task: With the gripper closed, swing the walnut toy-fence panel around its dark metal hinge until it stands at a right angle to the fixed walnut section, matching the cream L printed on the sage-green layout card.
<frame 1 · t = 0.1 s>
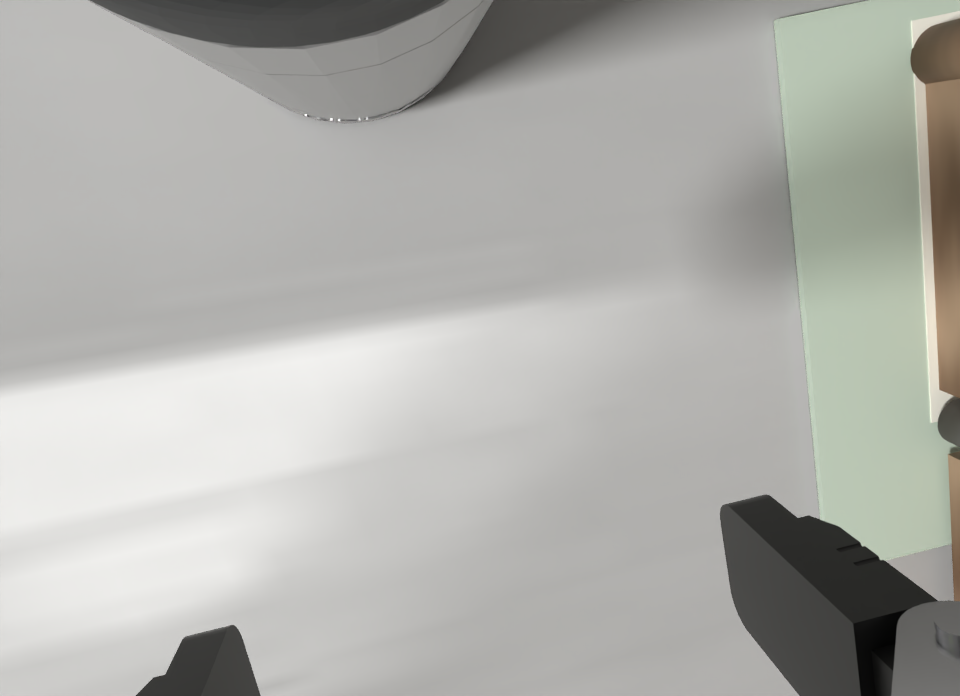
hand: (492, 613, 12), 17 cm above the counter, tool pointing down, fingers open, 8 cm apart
fixed fence section: (946, 414, 32), resting on layout card
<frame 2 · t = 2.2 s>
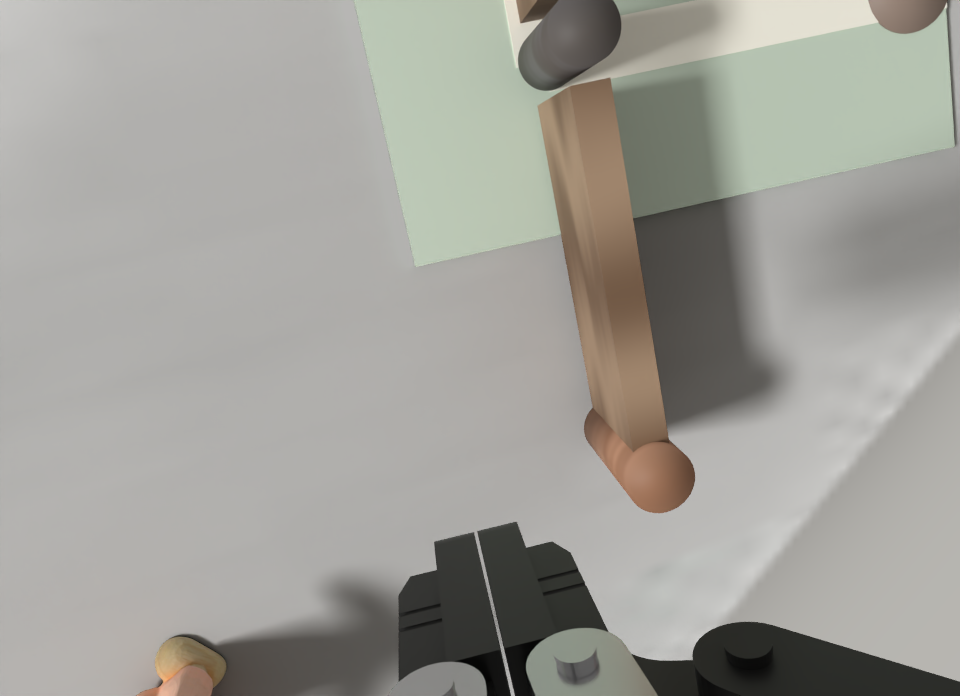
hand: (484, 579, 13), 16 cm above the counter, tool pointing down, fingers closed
hinged fence panel: (601, 262, 25), point 4 cm above the counter, hinge at 0.0°
fixed fence section: (542, 64, 26), resting on layout card
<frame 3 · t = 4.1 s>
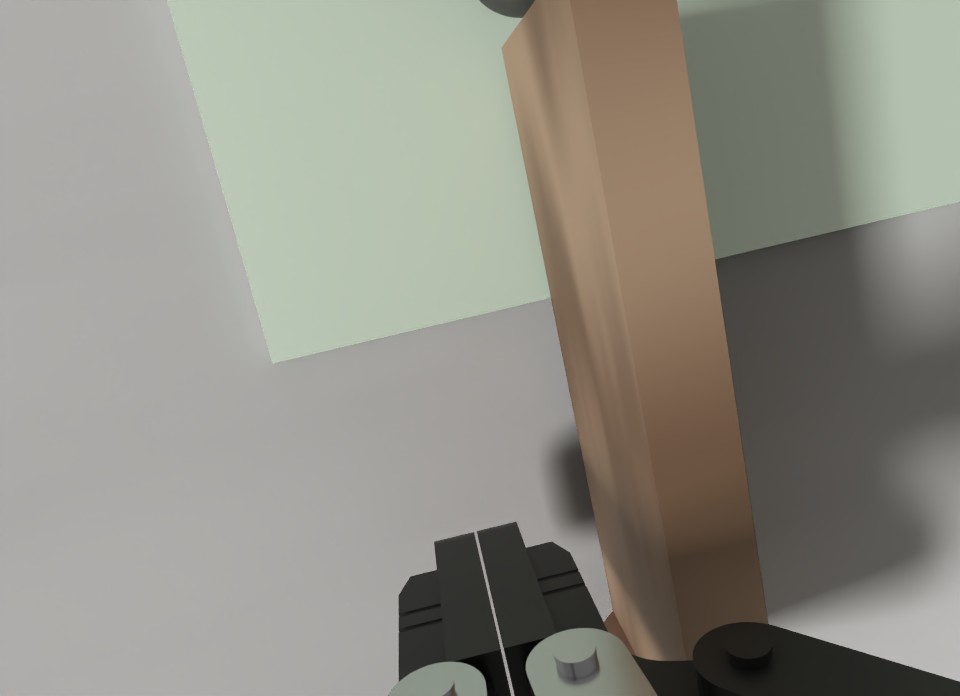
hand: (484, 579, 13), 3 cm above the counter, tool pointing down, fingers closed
hinged fence panel: (635, 370, 12), point 4 cm above the counter, hinge at 0.0°, touching gripper
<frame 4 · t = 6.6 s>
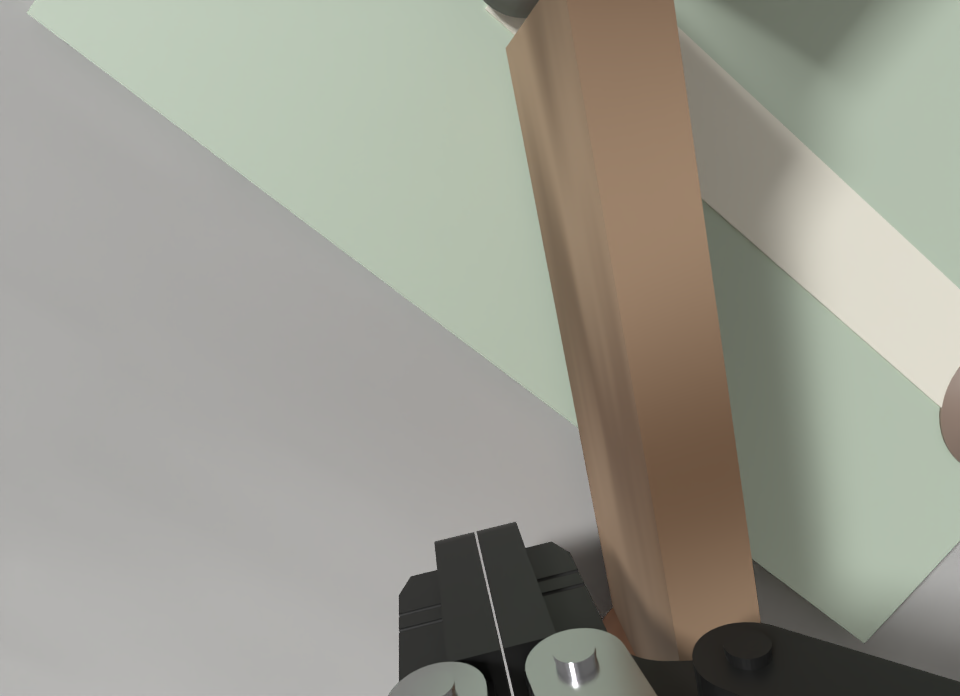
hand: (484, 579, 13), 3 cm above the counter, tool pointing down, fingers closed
hinged fence panel: (633, 372, 12), point 4 cm above the counter, hinge at 50.4°, touching gripper
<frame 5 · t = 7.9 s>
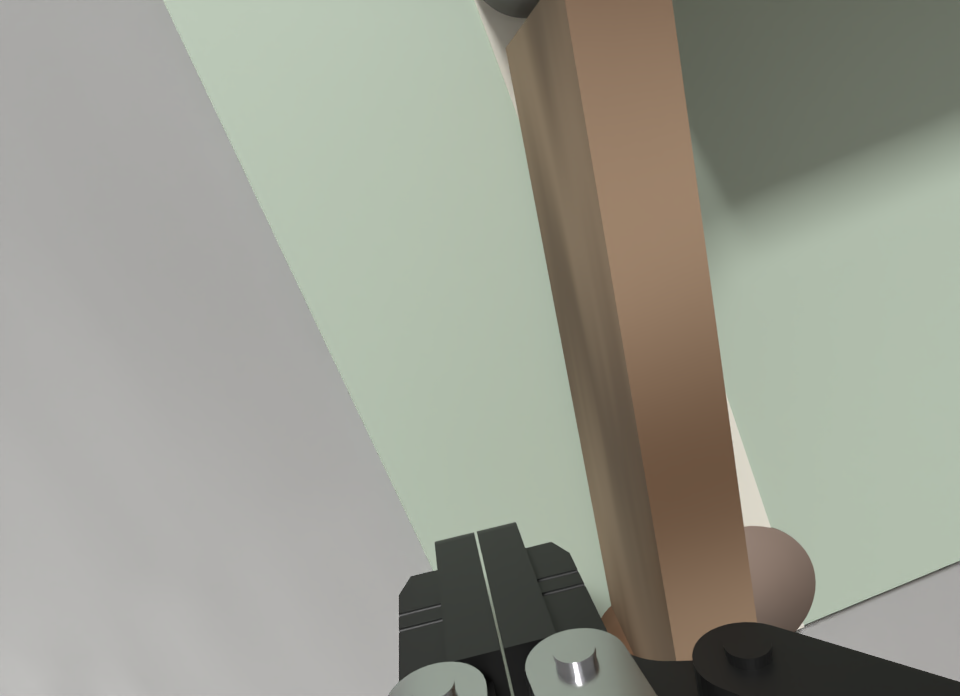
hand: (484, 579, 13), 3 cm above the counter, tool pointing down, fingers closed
layout card: (860, 93, 15), on the counter
hinged fence panel: (632, 373, 12), point 4 cm above the counter, hinge at 79.9°, touching gripper
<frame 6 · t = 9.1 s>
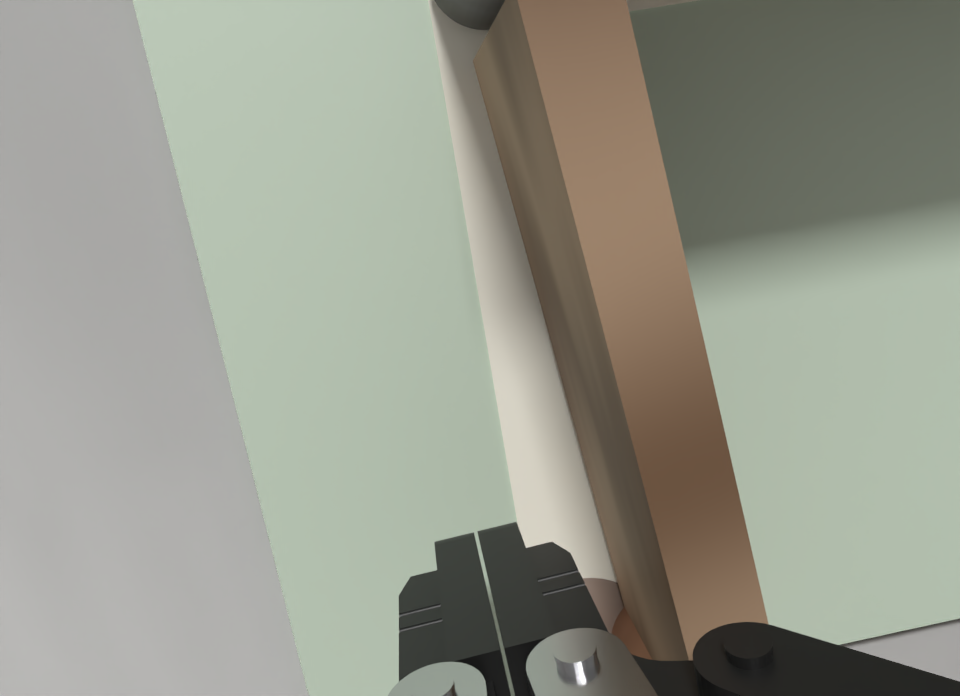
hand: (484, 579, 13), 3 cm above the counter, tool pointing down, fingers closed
layout card: (784, 178, 15), on the counter
hinged fence panel: (623, 374, 12), point 4 cm above the counter, hinge at 96.8°
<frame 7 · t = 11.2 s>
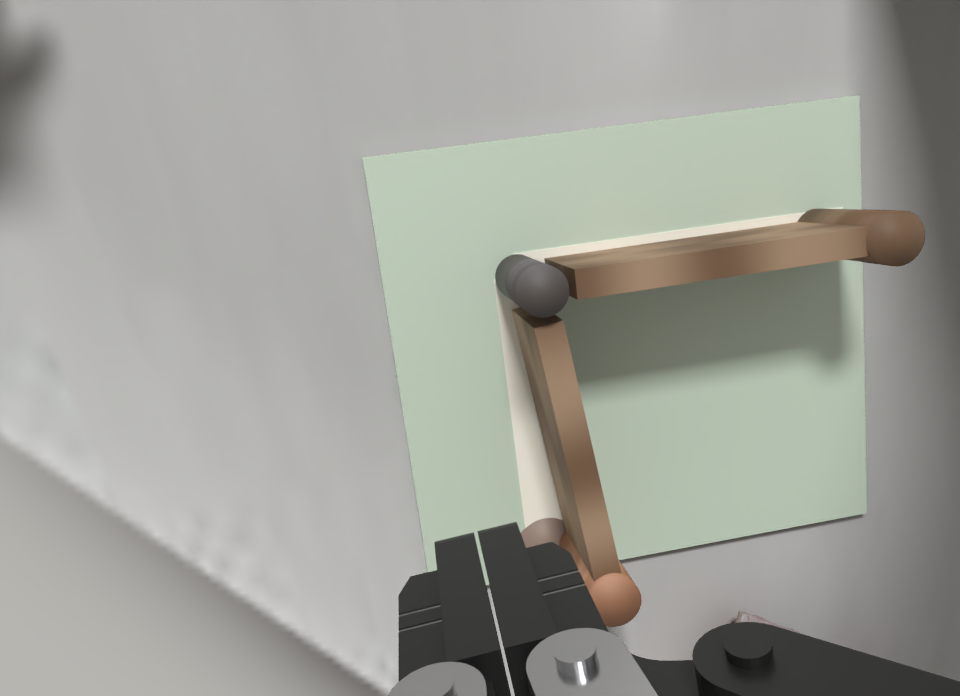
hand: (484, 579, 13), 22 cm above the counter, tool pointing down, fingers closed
layout card: (636, 350, 36), on the counter
hinged fence panel: (565, 434, 32), point 4 cm above the counter, hinge at 96.8°
fixed fence section: (513, 274, 34), resting on layout card
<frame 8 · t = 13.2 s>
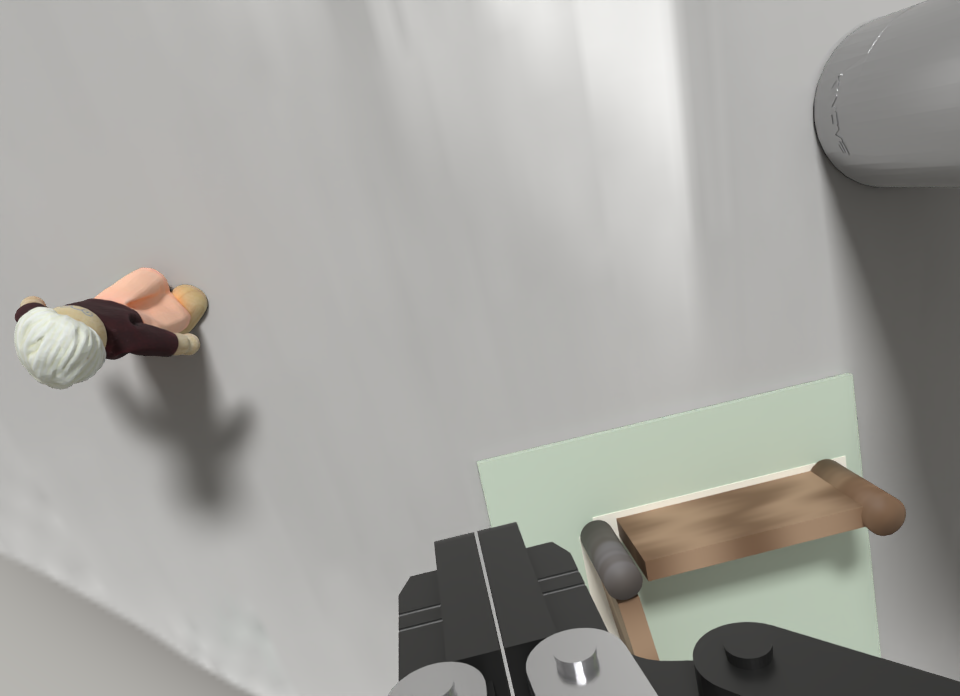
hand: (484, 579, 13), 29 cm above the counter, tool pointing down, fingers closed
layout card: (690, 573, 46), on the counter
grandmother figurine: (153, 301, 40), on the counter
hinged fence panel: (642, 659, 43), point 4 cm above the counter, hinge at 96.8°
fixed fence section: (593, 529, 45), resting on layout card
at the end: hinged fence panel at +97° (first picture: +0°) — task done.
